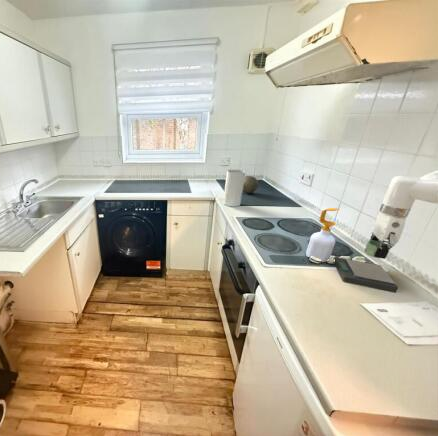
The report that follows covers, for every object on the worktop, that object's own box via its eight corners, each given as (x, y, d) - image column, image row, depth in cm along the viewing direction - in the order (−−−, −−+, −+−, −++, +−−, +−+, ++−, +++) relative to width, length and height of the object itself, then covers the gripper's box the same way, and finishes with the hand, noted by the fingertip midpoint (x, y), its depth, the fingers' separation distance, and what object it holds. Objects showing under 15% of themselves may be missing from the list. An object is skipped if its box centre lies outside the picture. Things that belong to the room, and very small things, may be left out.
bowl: (381, 252, 95) (386, 242, 93) (389, 260, 89) (394, 250, 87) (361, 249, 97) (365, 239, 95) (367, 256, 92) (371, 246, 90)
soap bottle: (323, 264, 105) (341, 213, 95) (301, 255, 112) (316, 207, 102) (332, 258, 109) (350, 209, 100) (311, 250, 116) (325, 203, 107)
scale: (378, 269, 101) (380, 263, 100) (395, 292, 88) (399, 286, 87) (333, 261, 107) (335, 255, 106) (343, 281, 94) (345, 275, 93)
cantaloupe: (238, 190, 213) (241, 174, 207) (255, 192, 209) (258, 175, 203) (238, 195, 200) (241, 177, 195) (257, 196, 196) (260, 178, 190)
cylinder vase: (243, 204, 180) (248, 171, 170) (235, 208, 172) (240, 173, 162) (227, 200, 188) (232, 168, 178) (219, 204, 180) (223, 171, 170)
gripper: (421, 220, 77) (398, 266, 84) (396, 204, 92) (378, 245, 99) (391, 217, 80) (371, 262, 87) (371, 201, 95) (356, 241, 101)
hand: (375, 252), depth 93 cm, fingers closed on bowl, 6 cm apart
